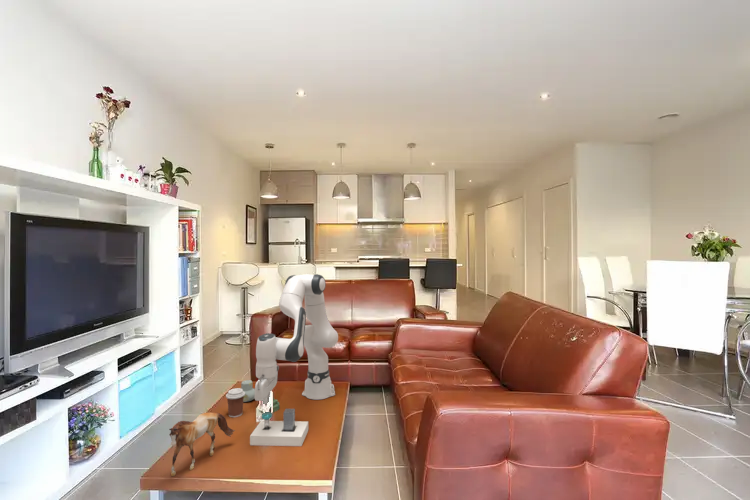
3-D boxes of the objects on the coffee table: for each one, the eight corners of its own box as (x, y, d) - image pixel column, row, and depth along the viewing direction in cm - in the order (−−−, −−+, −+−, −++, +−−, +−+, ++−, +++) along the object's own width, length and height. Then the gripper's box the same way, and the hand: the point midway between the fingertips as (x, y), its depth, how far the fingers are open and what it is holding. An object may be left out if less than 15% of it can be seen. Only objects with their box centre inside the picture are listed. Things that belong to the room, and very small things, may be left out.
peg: (286, 435, 172) (285, 408, 172) (294, 435, 172) (294, 408, 172) (283, 439, 168) (283, 412, 168) (292, 439, 168) (292, 412, 168)
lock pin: (263, 426, 172) (263, 412, 172) (273, 426, 172) (273, 412, 172) (260, 431, 168) (260, 416, 168) (270, 431, 168) (270, 416, 168)
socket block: (261, 429, 177) (261, 420, 177) (308, 430, 176) (308, 421, 176) (250, 445, 163) (250, 435, 163) (301, 446, 162) (301, 436, 162)
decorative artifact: (279, 412, 196) (279, 404, 205) (279, 398, 196) (279, 391, 205) (259, 414, 193) (259, 406, 203) (259, 400, 193) (259, 393, 203)
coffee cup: (236, 419, 187) (236, 395, 187) (221, 416, 190) (221, 392, 190) (249, 412, 196) (248, 388, 195) (234, 409, 199) (234, 386, 199)
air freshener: (233, 402, 208) (233, 383, 208) (242, 396, 216) (242, 378, 216) (251, 403, 206) (251, 385, 206) (259, 397, 214) (259, 380, 214)
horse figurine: (173, 486, 136) (172, 428, 135) (157, 481, 139) (156, 424, 138) (235, 443, 165) (235, 396, 164) (221, 440, 168) (221, 393, 167)
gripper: (265, 379, 159) (265, 413, 159) (279, 364, 180) (279, 394, 180) (250, 379, 159) (250, 412, 159) (266, 364, 180) (266, 394, 180)
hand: (266, 402), depth 170 cm, fingers closed
